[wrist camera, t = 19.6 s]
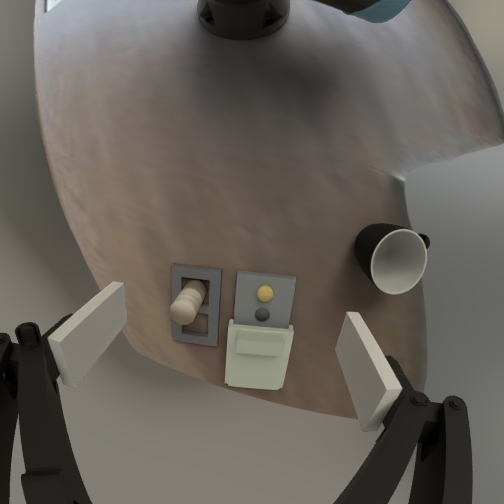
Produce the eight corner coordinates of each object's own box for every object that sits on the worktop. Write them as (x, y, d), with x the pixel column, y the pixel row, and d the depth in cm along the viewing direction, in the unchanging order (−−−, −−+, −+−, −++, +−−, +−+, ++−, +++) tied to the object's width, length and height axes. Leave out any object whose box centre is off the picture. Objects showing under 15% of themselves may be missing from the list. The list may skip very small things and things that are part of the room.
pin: (187, 275, 44) (170, 298, 35) (208, 280, 44) (196, 304, 35) (185, 295, 45) (169, 321, 36) (206, 299, 45) (194, 327, 36)
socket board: (173, 263, 43) (171, 265, 42) (222, 268, 43) (221, 271, 42) (174, 336, 47) (172, 340, 46) (218, 343, 47) (217, 346, 46)
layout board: (238, 270, 43) (236, 276, 41) (295, 276, 43) (297, 282, 41) (232, 335, 46) (231, 343, 44) (284, 340, 46) (285, 348, 44)
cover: (229, 319, 44) (226, 336, 39) (292, 324, 44) (296, 342, 39) (226, 376, 47) (222, 396, 42) (281, 381, 47) (282, 401, 42)
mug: (354, 278, 43) (376, 304, 33) (341, 227, 41) (363, 241, 31) (414, 255, 42) (446, 274, 32) (404, 205, 40) (439, 213, 30)
